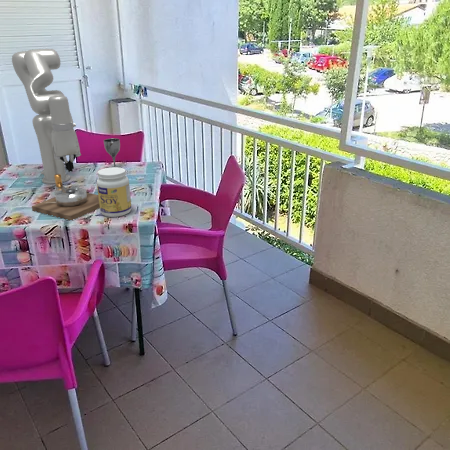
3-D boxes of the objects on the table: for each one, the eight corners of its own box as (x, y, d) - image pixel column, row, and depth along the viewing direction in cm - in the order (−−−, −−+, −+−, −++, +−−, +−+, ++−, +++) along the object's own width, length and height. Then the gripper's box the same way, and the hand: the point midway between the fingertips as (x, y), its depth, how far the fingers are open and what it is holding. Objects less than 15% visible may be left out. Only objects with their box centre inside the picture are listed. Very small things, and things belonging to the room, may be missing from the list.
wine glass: (115, 171, 222) (111, 142, 216) (104, 169, 226) (100, 140, 220) (126, 167, 228) (122, 139, 222) (115, 165, 232) (111, 137, 226)
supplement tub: (96, 217, 167) (90, 175, 160) (106, 206, 178) (100, 166, 172) (127, 218, 167) (123, 175, 160) (135, 206, 178) (131, 166, 171)
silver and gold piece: (92, 201, 177) (89, 181, 173) (63, 209, 170) (59, 188, 166) (72, 189, 190) (69, 171, 187) (45, 196, 183) (41, 177, 180)
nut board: (32, 210, 175) (31, 205, 174) (74, 194, 192) (73, 189, 191) (71, 220, 165) (70, 215, 164) (111, 202, 182) (111, 197, 181)
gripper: (79, 124, 183) (85, 166, 190) (41, 128, 176) (50, 172, 183) (83, 126, 177) (90, 170, 184) (45, 131, 170) (53, 176, 177)
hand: (70, 171), depth 184 cm, fingers closed
